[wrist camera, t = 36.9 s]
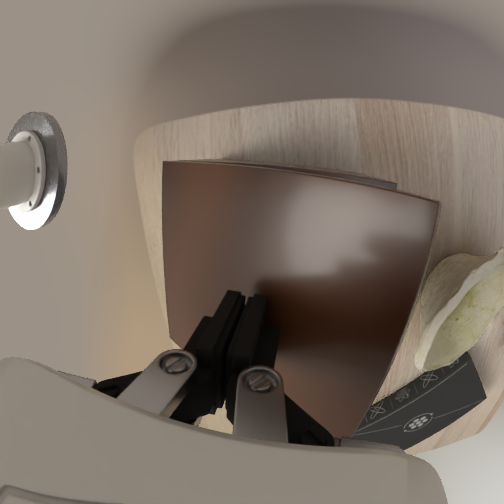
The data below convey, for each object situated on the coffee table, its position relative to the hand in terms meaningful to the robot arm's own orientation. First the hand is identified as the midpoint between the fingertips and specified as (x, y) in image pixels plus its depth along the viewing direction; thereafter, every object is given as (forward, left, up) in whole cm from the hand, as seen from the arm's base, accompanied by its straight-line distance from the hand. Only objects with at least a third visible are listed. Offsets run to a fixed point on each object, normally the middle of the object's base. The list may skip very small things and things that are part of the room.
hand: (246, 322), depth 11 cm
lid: (0, 0, -2) cm, 2 cm away
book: (+26, -25, -17) cm, 39 cm away
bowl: (+20, -4, -17) cm, 27 cm away
